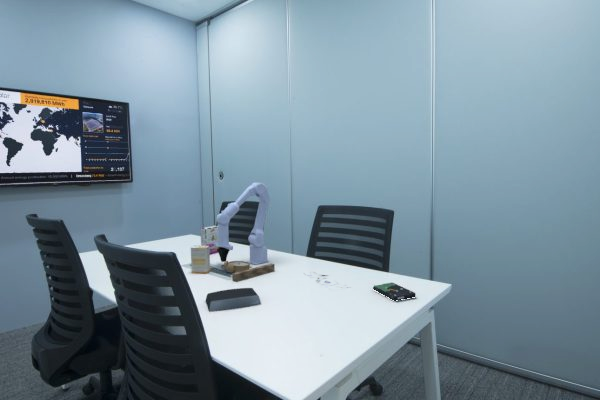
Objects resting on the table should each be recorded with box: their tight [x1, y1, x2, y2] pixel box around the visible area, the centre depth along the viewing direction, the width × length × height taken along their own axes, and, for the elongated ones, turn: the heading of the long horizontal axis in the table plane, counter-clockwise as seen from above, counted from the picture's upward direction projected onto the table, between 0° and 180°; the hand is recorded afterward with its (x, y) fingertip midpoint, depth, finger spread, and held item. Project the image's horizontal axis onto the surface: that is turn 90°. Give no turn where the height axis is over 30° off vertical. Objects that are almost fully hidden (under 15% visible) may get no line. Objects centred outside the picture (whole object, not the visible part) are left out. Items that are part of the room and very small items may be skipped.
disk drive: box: [372, 282, 416, 302], centre depth 146 cm, size 10×3×15 cm
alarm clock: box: [220, 260, 253, 274], centre depth 183 cm, size 11×5×15 cm
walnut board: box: [231, 263, 276, 283], centre depth 173 cm, size 24×2×4 cm, turn 137°
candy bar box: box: [200, 225, 219, 255], centre depth 220 cm, size 11×5×16 cm, turn 147°
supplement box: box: [190, 245, 211, 274], centre depth 179 cm, size 8×5×13 cm, turn 84°
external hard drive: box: [205, 287, 262, 313], centre depth 138 cm, size 13×19×4 cm
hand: (223, 261), depth 190 cm, fingers closed
